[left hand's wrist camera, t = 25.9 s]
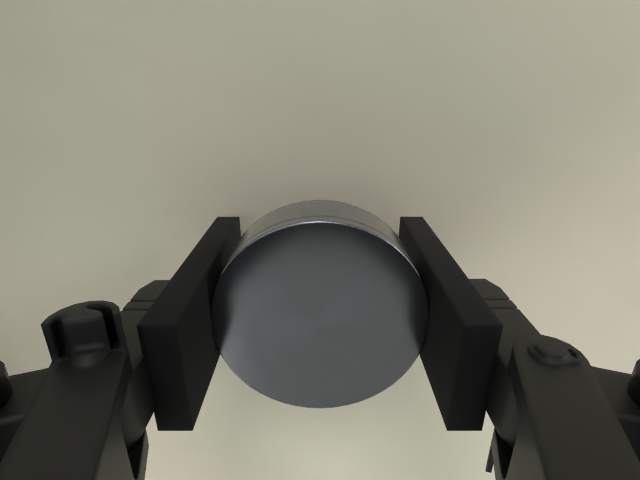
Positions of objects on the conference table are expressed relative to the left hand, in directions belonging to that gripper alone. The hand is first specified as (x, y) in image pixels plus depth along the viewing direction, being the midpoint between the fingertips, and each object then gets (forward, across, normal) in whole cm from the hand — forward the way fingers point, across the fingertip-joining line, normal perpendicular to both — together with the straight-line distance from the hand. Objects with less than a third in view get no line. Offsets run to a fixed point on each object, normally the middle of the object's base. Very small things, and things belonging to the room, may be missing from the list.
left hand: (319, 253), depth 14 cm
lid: (-4, 0, 0) cm, 4 cm away
